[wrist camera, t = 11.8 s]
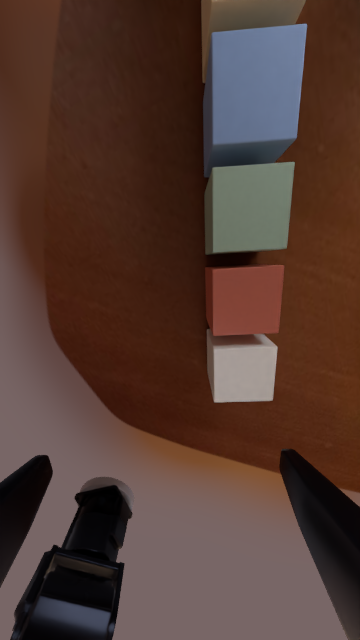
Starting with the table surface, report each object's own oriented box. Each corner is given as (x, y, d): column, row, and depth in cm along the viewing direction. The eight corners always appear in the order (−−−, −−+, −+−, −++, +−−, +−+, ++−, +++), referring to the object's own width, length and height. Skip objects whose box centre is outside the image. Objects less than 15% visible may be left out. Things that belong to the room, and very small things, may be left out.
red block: (206, 318, 18) (212, 336, 14) (205, 267, 17) (212, 269, 13) (256, 315, 18) (278, 333, 14) (259, 264, 17) (284, 265, 13)
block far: (253, 370, 20) (272, 401, 15) (207, 371, 20) (213, 402, 16) (256, 326, 18) (278, 346, 14) (206, 328, 19) (213, 349, 14)
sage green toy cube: (260, 251, 17) (286, 248, 12) (205, 254, 17) (212, 252, 12) (263, 189, 15) (295, 161, 11) (204, 193, 15) (212, 167, 11)
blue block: (264, 173, 15) (297, 138, 11) (204, 177, 15) (212, 145, 11) (269, 96, 14) (308, 21, 9) (202, 102, 14) (211, 31, 10)
